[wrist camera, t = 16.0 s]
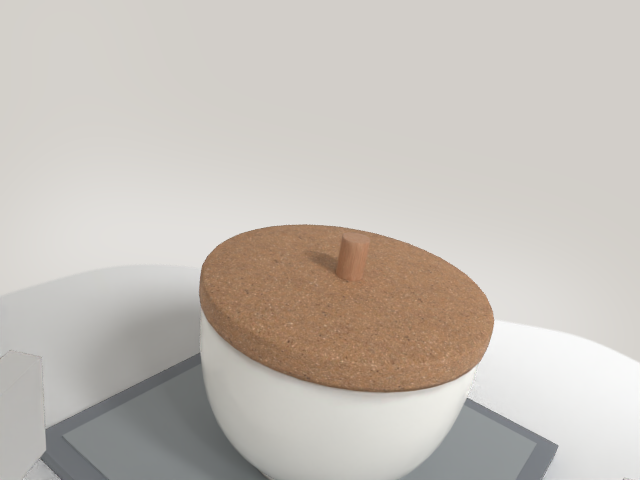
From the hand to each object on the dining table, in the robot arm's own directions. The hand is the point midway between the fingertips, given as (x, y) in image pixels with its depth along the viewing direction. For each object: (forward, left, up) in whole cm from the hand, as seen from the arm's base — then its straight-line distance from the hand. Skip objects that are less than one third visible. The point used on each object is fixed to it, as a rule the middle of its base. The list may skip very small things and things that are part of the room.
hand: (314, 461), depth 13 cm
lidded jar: (+4, -8, -7) cm, 12 cm away
